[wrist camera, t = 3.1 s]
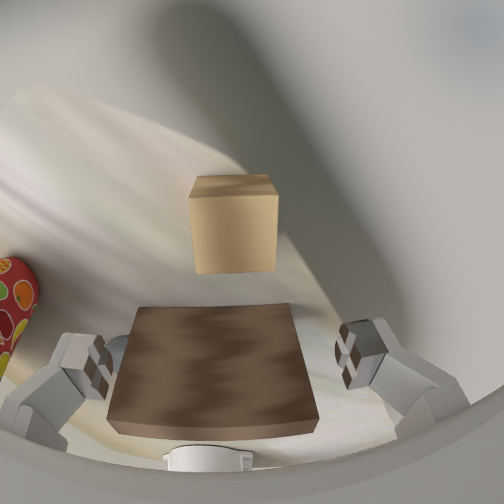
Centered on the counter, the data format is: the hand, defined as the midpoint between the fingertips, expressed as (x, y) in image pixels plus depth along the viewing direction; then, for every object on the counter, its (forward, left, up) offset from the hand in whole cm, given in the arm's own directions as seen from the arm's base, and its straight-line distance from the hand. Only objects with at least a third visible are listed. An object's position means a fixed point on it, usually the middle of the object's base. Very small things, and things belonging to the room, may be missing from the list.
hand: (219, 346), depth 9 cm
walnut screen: (-11, +3, -14) cm, 17 cm away
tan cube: (-1, -1, -14) cm, 14 cm away
